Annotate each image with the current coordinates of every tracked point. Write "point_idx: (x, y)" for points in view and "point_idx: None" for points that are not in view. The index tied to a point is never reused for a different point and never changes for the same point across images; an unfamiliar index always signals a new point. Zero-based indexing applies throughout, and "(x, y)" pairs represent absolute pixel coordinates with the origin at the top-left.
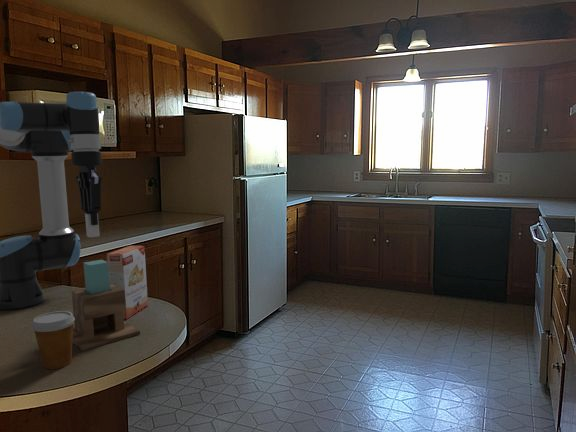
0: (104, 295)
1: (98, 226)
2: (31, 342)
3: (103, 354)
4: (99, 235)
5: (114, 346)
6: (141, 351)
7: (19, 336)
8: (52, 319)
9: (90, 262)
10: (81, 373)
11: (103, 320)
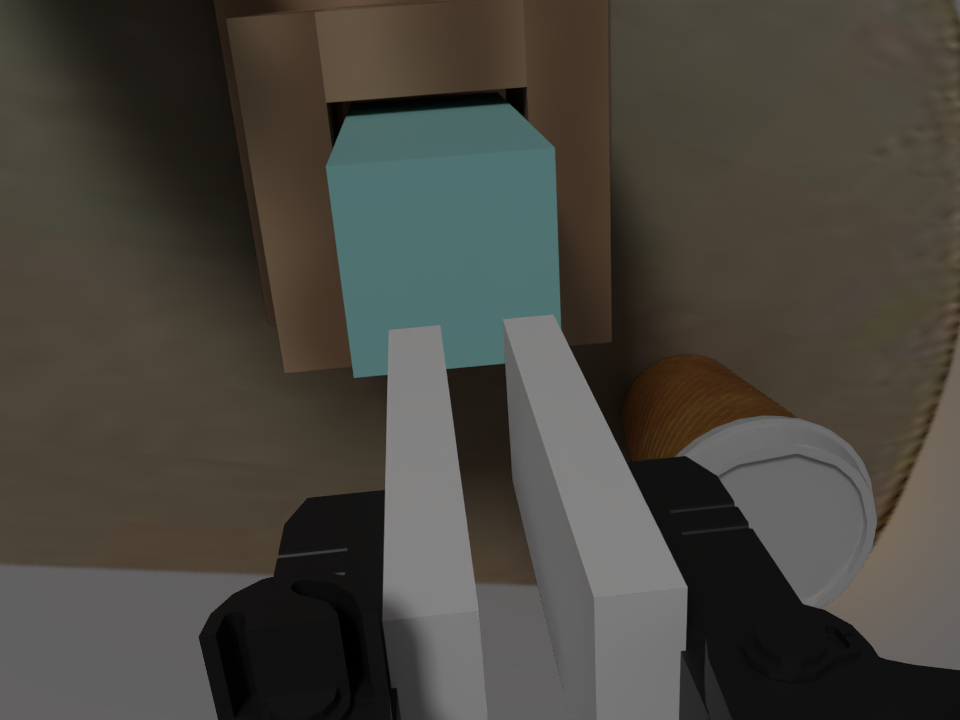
0: (609, 183)
1: (591, 402)
2: (290, 471)
3: (735, 210)
4: (553, 323)
5: (672, 128)
6: (859, 25)
7: (145, 510)
8: (787, 542)
9: (406, 313)
10: (868, 346)
11: (347, 104)
